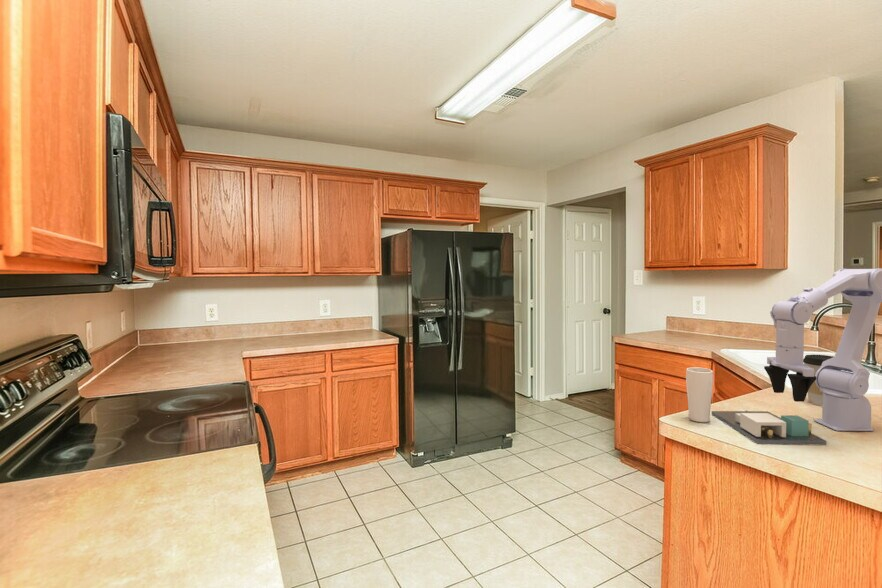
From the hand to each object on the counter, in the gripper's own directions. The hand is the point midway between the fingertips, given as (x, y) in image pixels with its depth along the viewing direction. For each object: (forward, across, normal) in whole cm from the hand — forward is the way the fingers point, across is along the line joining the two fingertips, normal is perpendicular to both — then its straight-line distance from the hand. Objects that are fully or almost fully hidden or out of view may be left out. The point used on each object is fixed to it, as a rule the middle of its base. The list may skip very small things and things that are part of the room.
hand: (788, 396), depth 114 cm
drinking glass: (+10, -10, -18) cm, 23 cm away
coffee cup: (+10, -26, +27) cm, 38 cm away
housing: (+9, 0, -8) cm, 12 cm away
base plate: (+10, -4, -4) cm, 11 cm away
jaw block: (+9, +2, 0) cm, 9 cm away
